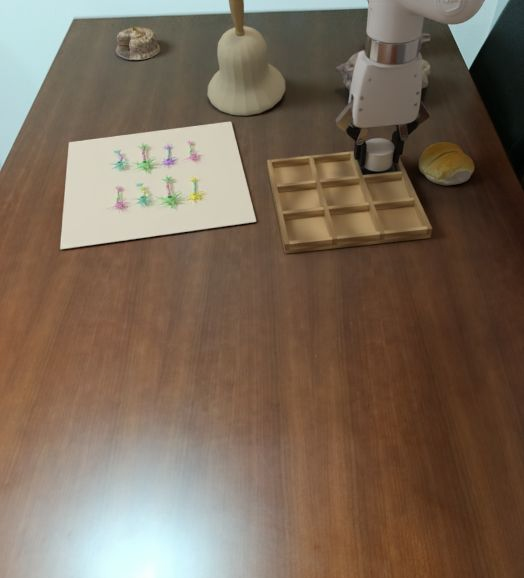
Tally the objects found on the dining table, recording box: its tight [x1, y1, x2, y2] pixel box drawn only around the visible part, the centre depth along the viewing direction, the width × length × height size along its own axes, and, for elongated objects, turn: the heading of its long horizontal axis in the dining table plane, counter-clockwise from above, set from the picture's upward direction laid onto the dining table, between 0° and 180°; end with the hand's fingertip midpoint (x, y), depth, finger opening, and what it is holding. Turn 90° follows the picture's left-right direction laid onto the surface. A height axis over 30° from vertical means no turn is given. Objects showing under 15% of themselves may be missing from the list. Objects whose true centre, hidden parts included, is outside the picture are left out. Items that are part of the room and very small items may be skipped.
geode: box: [335, 49, 432, 93], centre depth 110 cm, size 17×9×15 cm
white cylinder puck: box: [364, 137, 395, 171], centre depth 95 cm, size 5×5×3 cm
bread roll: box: [418, 141, 475, 186], centre depth 95 cm, size 8×9×4 cm
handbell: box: [207, 0, 286, 117], centre depth 104 cm, size 15×15×25 cm
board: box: [266, 150, 433, 255], centre depth 92 cm, size 22×22×2 cm
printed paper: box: [59, 121, 257, 250], centre depth 98 cm, size 30×30×2 cm
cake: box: [115, 26, 161, 61], centre depth 128 cm, size 10×10×5 cm
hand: (377, 159), depth 95 cm, fingers closed on white cylinder puck, 4 cm apart
